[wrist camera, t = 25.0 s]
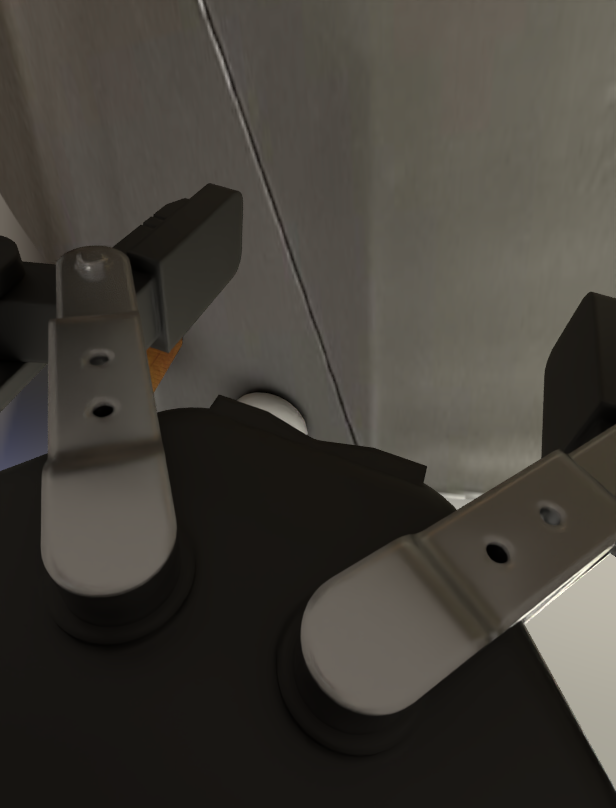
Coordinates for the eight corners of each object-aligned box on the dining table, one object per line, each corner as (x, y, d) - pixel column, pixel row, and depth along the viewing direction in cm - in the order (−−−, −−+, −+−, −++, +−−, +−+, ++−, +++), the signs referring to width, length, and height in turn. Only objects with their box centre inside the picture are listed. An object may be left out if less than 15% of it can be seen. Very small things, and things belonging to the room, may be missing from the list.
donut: (309, 394, 60) (230, 379, 62) (300, 415, 58) (217, 398, 60) (312, 452, 67) (240, 436, 69) (304, 472, 65) (230, 455, 67)
